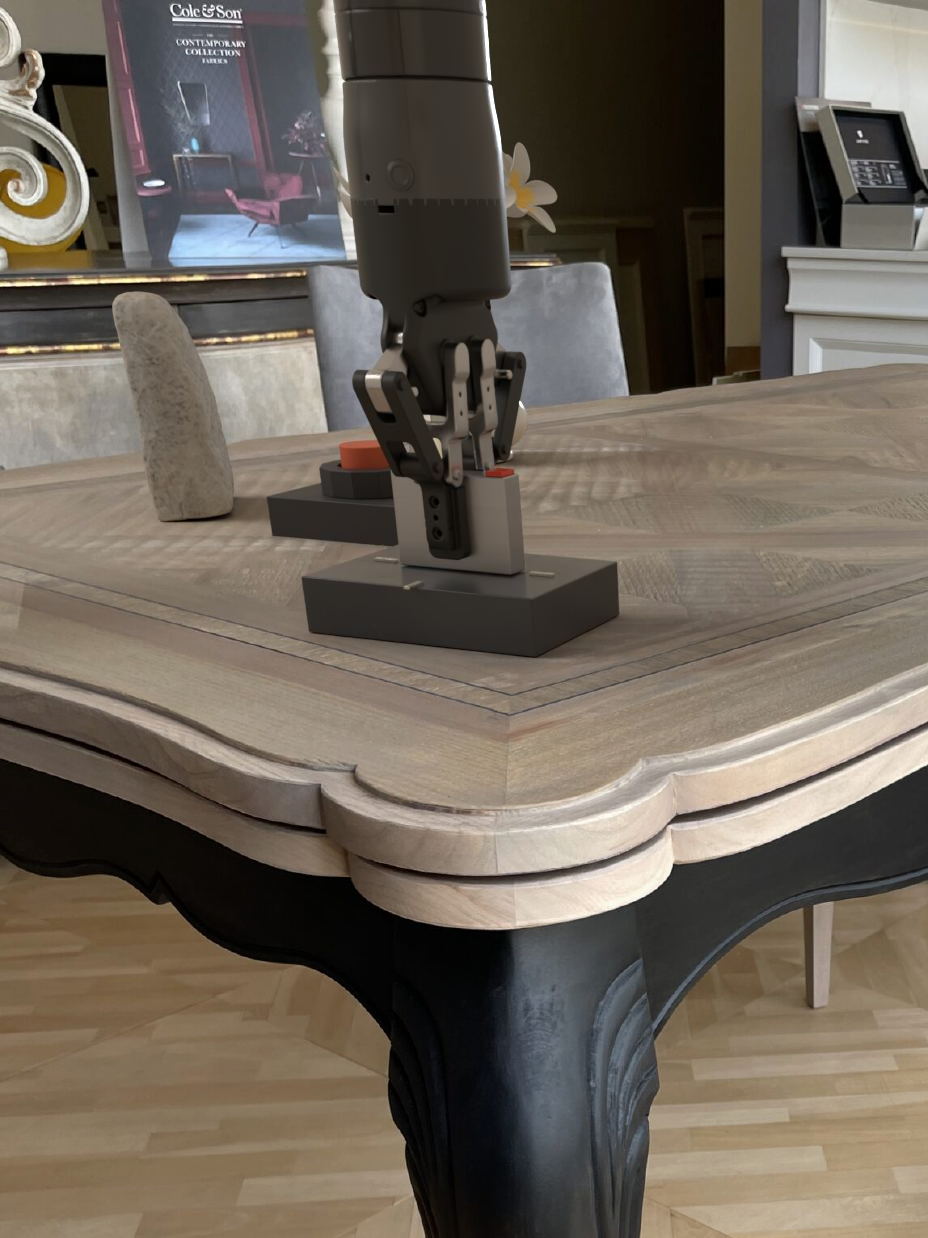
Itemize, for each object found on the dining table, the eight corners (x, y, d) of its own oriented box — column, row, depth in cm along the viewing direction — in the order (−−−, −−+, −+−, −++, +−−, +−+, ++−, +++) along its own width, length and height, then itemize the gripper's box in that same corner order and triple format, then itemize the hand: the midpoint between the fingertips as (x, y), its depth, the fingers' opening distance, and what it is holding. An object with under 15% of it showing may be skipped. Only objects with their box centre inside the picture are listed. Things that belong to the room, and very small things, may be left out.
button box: (272, 536, 106) (261, 468, 104) (347, 515, 114) (339, 451, 111) (407, 548, 103) (399, 478, 101) (475, 525, 110) (470, 460, 108)
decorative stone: (170, 498, 119) (133, 286, 112) (249, 497, 120) (217, 286, 113) (143, 524, 110) (101, 294, 103) (229, 522, 111) (193, 294, 104)
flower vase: (359, 455, 140) (321, 141, 128) (554, 446, 146) (535, 145, 134) (380, 476, 130) (341, 136, 118) (590, 465, 136) (573, 141, 124)
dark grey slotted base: (301, 634, 82) (293, 575, 81) (414, 591, 92) (408, 537, 90) (530, 660, 78) (525, 598, 77) (624, 612, 87) (622, 556, 86)
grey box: (400, 565, 84) (389, 464, 81) (416, 559, 85) (405, 460, 83) (511, 575, 82) (503, 473, 79) (526, 570, 83) (518, 468, 80)
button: (331, 472, 105) (328, 445, 104) (361, 465, 108) (358, 439, 107) (376, 475, 104) (372, 448, 103) (405, 468, 107) (402, 442, 106)
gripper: (438, 192, 81) (468, 527, 90) (276, 190, 70) (328, 573, 79) (562, 192, 79) (581, 537, 87) (415, 190, 68) (453, 585, 76)
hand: (461, 552), depth 83 cm, fingers closed on grey box
